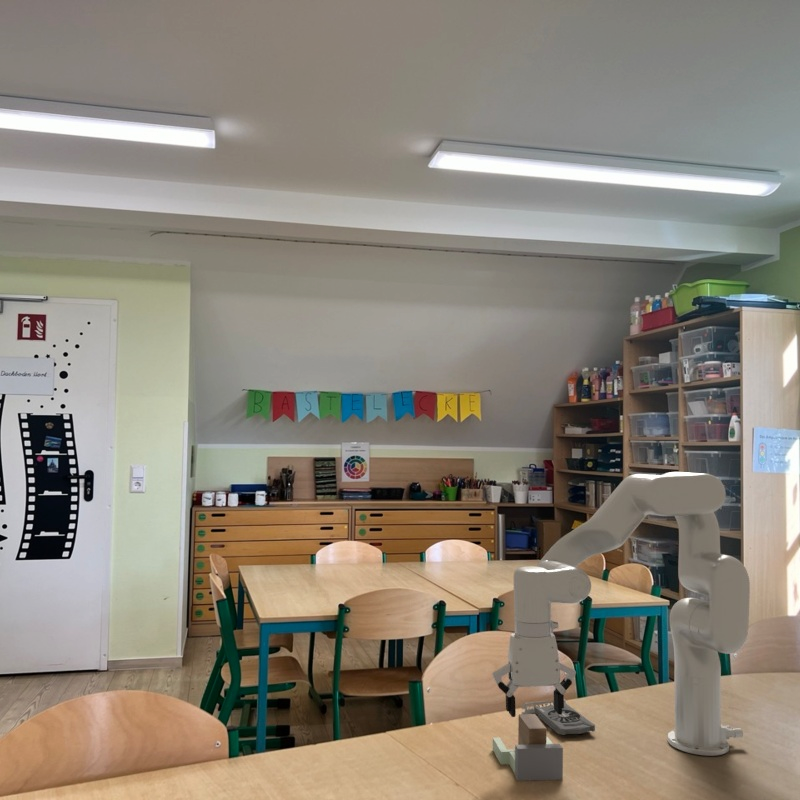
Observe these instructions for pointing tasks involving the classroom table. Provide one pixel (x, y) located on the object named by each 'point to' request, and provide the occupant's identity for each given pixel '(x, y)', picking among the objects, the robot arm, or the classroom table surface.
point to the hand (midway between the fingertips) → (535, 713)
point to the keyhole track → (532, 760)
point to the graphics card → (560, 718)
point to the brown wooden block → (531, 730)
